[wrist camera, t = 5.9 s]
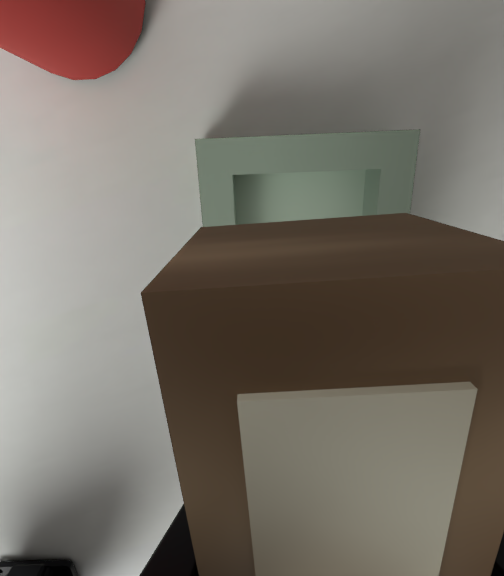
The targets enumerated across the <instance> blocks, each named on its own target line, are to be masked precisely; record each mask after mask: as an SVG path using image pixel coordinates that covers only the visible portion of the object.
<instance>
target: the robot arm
mask: <svg viewBox="0 0 504 576" xmlns="http://www.w3.org/2000/svg"><path fill="white" fill-rule="evenodd" d="M0 576H77V573H76V570H75V567H74V565H73V563H72V562H71V561H69V560H51V561H12V562H0ZM140 576H199V574H198V569H197V564H196V559H195V554H194V550H193V545H192V540H191V535H190V530H189V525H188V520H187V515H186V511H185V506H184V504H183V506H182V507H181V509H180V511H179V512H178V514H177V515H176V517H175V519H174V520H173V522H172V524H171V525H170V527H169V528H168V530H167V532H166V533H165V535H164V537H163V538H162V540H161V541H160V543H159V545H158V546H157V548H156V550H155V551H154V553H153V554H152V556H151V558H150V559H149V561H148V563H147V564H146V566H145V568H144V569H143V571H142V572H141V574H140ZM491 576H504V533H503V536H502V539H501V543H500V546H499V549H498V553H497V556H496V559H495V563H494V566H493V569H492V573H491Z"/></svg>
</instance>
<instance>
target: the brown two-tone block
mask: <svg viewBox="0 0 504 576" xmlns="http://www.w3.org/2000/svg"><path fill="white" fill-rule="evenodd" d="M141 296H142V301H143V306H144V311H145V316H146V321H147V325H148V330H149V335H150V340H151V345H152V350H153V355H154V360H155V364H156V369H157V374H158V379H159V384H160V389H161V394H162V399H163V403H164V408H165V413H166V418H167V423H168V428H169V433H170V438H171V442H172V447H173V452H174V457H175V462H176V467H177V472H178V476H179V481H180V486H181V491H182V496H183V501H184V506H185V511H186V515H187V520H188V525H189V530H190V535H191V540H192V545H193V550H194V554H195V559H196V564H197V569H198V574H199V576H491V573H492V569H493V566H494V563H495V559H496V556H497V553H498V549H499V546H500V543H501V539H502V536H503V533H504V241H501V240H498V239H494V238H491V237H487V236H484V235H480V234H477V233H473V232H470V231H467V230H463V229H460V228H456V227H453V226H449V225H446V224H442V223H439V222H436V221H432V220H429V219H425V218H422V217H418V216H415V215H411V214H408V213H395V214H381V215H367V216H353V217H338V218H324V219H310V220H296V221H282V222H268V223H253V224H239V225H225V226H211V227H201V228H200V229H199V230H198V231H197V232H196V233H195V234H194V236H193V237H192V238H191V239H190V240H189V241H188V242H187V243H186V244H185V245H184V246H183V247H182V249H181V250H180V251H179V252H178V253H177V254H176V255H175V256H174V257H173V258H172V259H171V261H170V262H169V263H168V264H167V265H166V266H165V267H164V268H163V269H162V270H161V271H160V273H159V274H158V275H157V276H156V277H155V278H154V279H153V280H152V281H151V282H150V283H149V284H148V286H147V287H146V288H145V289H144V290H143V291H142V292H141Z"/></svg>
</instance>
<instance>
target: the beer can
mask: <svg viewBox="0 0 504 576" xmlns="http://www.w3.org/2000/svg"><path fill="white" fill-rule="evenodd" d="M144 10H145V0H0V48H2V49H4V50H6V51H8V52H10V53H12V54H14V55H16V56H18V57H20V58H22V59H24V60H26V61H28V62H30V63H32V64H34V65H36V66H38V67H40V68H42V69H44V70H46V71H48V72H50V73H53V74H56V75H59V76H63V77H66V78H69V79H72V80H83V79H97V78H99V77H101V76H103V75H105V74H108V73H110V72H112V71H114V70H116V69H117V68H118V67H119V66H120V65H121V64H122V63H123V62H124V61H125V59H126V58H127V57H128V56H129V55H130V54H131V53H132V51H133V48H134V46H135V44H136V42H137V40H138V38H139V35H140V33H141V31H142V24H143V17H144Z"/></svg>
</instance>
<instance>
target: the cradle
mask: <svg viewBox="0 0 504 576" xmlns="http://www.w3.org/2000/svg"><path fill="white" fill-rule="evenodd" d="M419 136H420V129H418V130H394V131H371V132H347V133H324V134H301V135H277V136H254V137H230V138H207V139H195V146H196V157H197V168H198V179H199V190H200V201H201V212H202V223H203V227H211V226H225V225H239V224H253V223H268V222H282V221H296V220H310V219H324V218H338V217H353V216H367V215H381V214H395V213H408V214H410V208H411V200H412V192H413V184H414V176H415V168H416V160H417V152H418V144H419Z"/></svg>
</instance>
